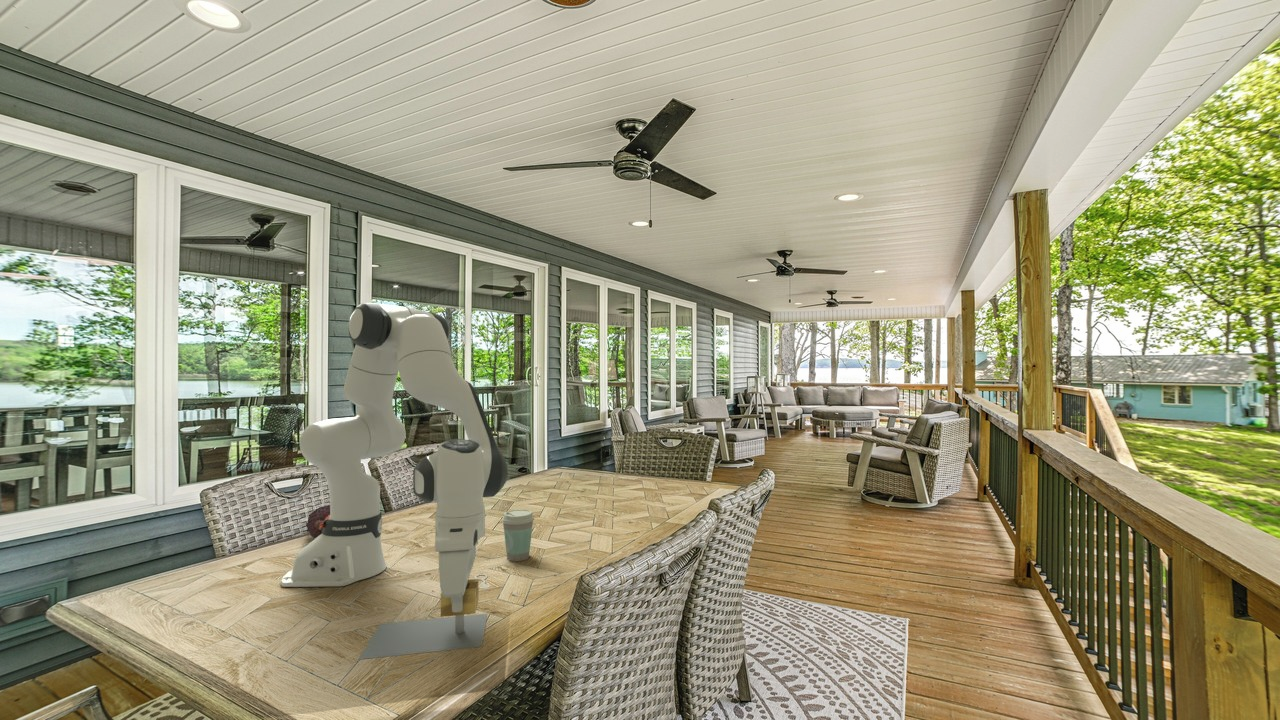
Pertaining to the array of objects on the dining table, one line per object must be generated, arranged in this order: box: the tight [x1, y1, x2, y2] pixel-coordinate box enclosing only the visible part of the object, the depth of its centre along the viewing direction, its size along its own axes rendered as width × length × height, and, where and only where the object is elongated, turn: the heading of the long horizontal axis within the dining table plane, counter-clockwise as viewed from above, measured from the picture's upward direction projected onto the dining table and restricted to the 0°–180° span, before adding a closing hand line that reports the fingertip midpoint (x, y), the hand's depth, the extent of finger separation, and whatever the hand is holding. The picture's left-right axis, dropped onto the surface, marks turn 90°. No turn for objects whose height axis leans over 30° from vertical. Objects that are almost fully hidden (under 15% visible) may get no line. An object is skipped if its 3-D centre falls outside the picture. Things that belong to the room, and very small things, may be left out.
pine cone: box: [305, 504, 330, 540], centre depth 159 cm, size 18×10×10 cm, turn 50°
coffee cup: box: [501, 509, 535, 562], centre depth 142 cm, size 8×9×12 cm
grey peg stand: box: [357, 613, 489, 661], centre depth 97 cm, size 20×13×9 cm, turn 102°
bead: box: [440, 578, 480, 618], centre depth 98 cm, size 6×6×4 cm
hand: (460, 601), depth 98 cm, fingers closed on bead, 6 cm apart
